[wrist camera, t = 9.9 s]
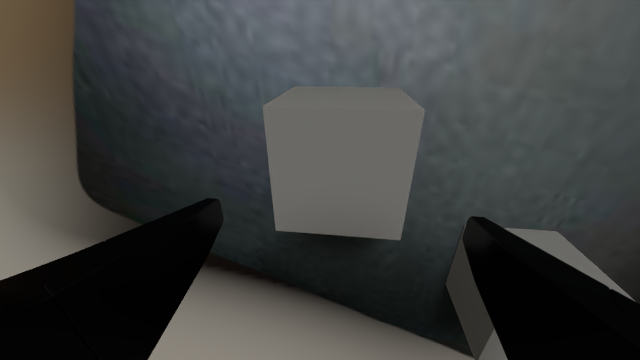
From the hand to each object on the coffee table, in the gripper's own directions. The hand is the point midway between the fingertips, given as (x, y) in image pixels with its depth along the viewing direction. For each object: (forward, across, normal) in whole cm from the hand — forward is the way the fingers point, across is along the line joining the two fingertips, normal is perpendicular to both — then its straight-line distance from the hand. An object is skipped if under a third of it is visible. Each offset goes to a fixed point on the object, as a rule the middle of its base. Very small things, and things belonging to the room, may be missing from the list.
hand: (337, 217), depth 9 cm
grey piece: (+9, 0, 0) cm, 9 cm away
